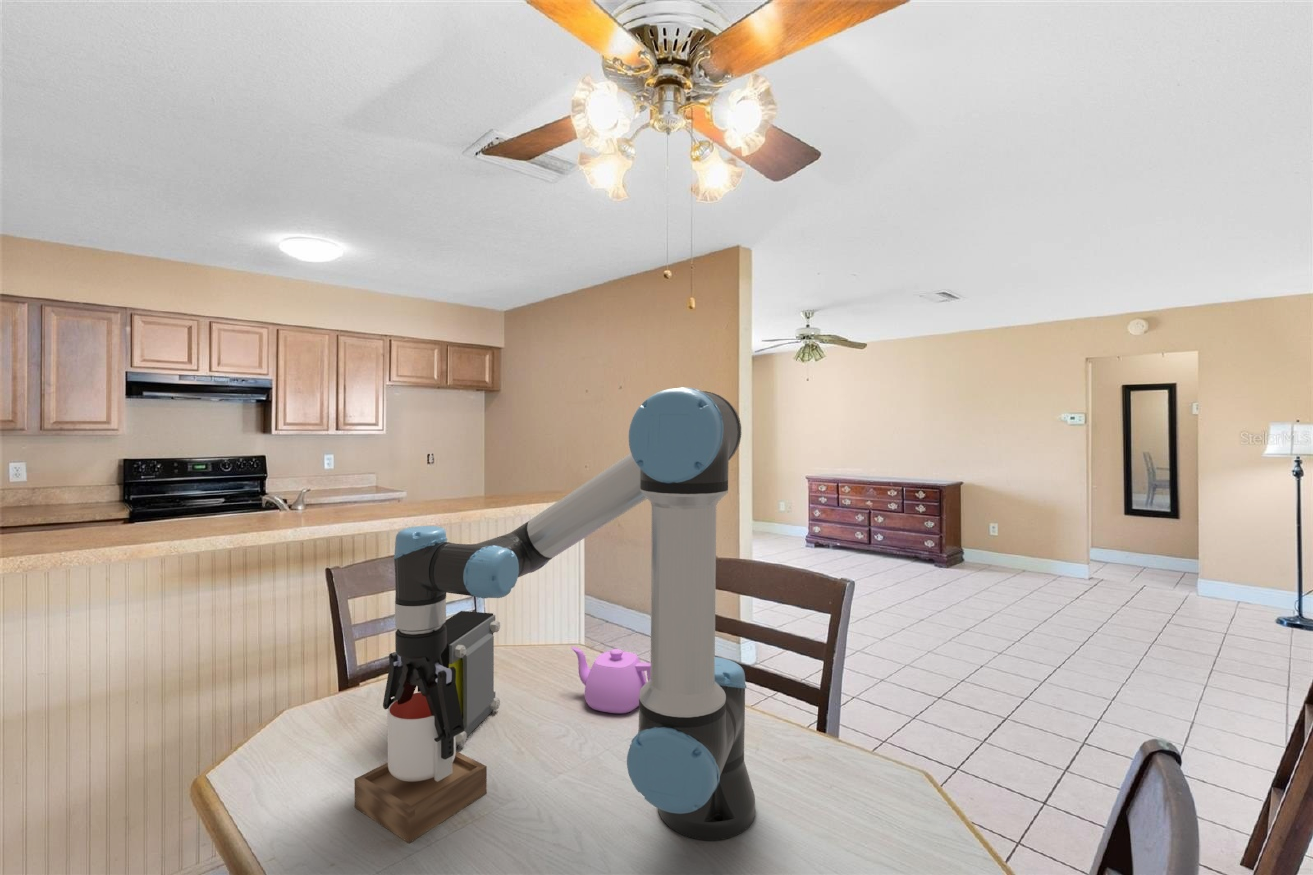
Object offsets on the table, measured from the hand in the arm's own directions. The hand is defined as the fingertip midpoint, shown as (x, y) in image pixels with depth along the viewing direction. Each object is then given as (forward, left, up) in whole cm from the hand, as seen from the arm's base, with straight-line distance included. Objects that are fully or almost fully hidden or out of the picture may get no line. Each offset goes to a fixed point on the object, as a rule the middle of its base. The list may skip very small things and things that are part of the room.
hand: (422, 765), depth 96 cm
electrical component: (+14, -18, -6) cm, 24 cm away
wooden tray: (0, 0, -6) cm, 6 cm away
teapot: (-4, -44, -6) cm, 45 cm away
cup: (0, 0, 0) cm, 0 cm away
